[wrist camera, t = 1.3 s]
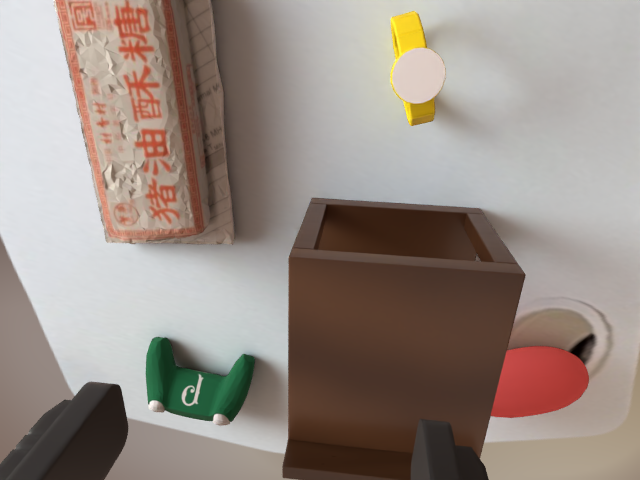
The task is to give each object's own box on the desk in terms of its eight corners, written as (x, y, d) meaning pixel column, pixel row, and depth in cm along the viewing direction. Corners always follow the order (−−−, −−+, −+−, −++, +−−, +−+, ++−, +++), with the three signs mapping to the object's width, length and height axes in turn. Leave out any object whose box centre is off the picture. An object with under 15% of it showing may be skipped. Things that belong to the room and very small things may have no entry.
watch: (377, 23, 27) (379, 17, 22) (423, 10, 26) (436, 0, 21) (395, 120, 29) (401, 137, 24) (437, 110, 29) (453, 124, 23)
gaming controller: (163, 339, 41) (142, 407, 39) (150, 334, 37) (126, 407, 35) (259, 359, 41) (243, 428, 39) (255, 355, 37) (237, 431, 35)
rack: (311, 197, 32) (281, 275, 21) (480, 208, 31) (540, 295, 20) (308, 353, 38) (282, 478, 27) (450, 366, 37) (484, 501, 26)
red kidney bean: (465, 316, 36) (449, 385, 32) (593, 336, 32) (593, 418, 28) (469, 350, 39) (455, 416, 36) (585, 373, 35) (584, 450, 31)
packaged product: (2, -40, 23) (182, -47, 22) (60, -26, 28) (212, -31, 27) (80, 263, 30) (219, 268, 29) (116, 236, 35) (238, 239, 34)
